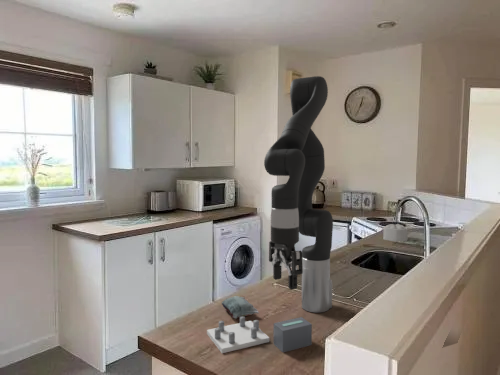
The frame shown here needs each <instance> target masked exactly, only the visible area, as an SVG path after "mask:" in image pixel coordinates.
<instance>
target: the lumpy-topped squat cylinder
mask: <svg viewBox="0 0 500 375" xmlns="http://www.w3.org/2000/svg"><path fill="white" fill-rule="evenodd" d="M408 231H409V229H408V228H407V227H405V226H404V225H402V224H399V223H397V224H393V223H390V224H387V225H386V226H383V237H382V239H383V240H384V241H390V242H398V241H404V242H408V236H409V235H408V234H409V232H408Z"/></svg>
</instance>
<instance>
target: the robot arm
mask: <svg viewBox="0 0 500 375" xmlns="http://www.w3.org/2000/svg"><path fill="white" fill-rule="evenodd" d="M289 88H290V89H289V98H290V106H291V114H292V116H290V118H289V119H288V120H287V121H286V122H285V125H284V127H283V130H282V133H281V134H280V137H279V138H278V139H277V140H276V141H275V142H274V143H273V144H272V145H271V147H270V148H268V150H267V152H266V154H265V157H264V163H263V164H264V165H263V166H264V169H265V170H266V172H267V173H268V174H269V175H270V176H275V177H276V176H278V177H279V176H281V177H282V176H283V177H288V179H287V181H286V183H282V184H277V185H274V186H273V187H272V188H271V210H270V241H269V242H268V261H269V263H271V266H272V268H273V269H272V270H273V272H272V274H273V275H272V276H273V279H274V280H275V281H276V280H281V279H282V264H283V265H284V268H286V271H287V272H288V279H287V280H288V284H287V286H288V289H289V290H296V289H297V288H298V275H301V308H302V309H303V311H307V312H309V313H310V312H311V313H324V312H327V311H329V309H332V308H333V280H332V279H331V277H330V276H331V251H332V244H333V231H334V230H333V229H334V221H333V220H334V219H333V215H332V212H330V211H329V210H327V209H320V208H319V209H318V208H317V209H316V208H313V195H314V192H315V189H316V188H317V186H318V184H319V182H320V181H321V179H322V176H323V175H324V172H325V168H326V167H325V164H326V163H325V160H326V159H325V148H324V146H323V144H322V142H321V141H320V139H319V138H318V136H317V135H316V133H315V132H314V130H313V129H312V127H313V125H314V123H315V121H316V120H317V118H318V116H319V115H320V114H321V111H322V110H323V108H324V107H325V105H326V102H327V100H328V96H329V94H328V93H329V91H328V90H329V89H328V83H327V80H326V79H325V78H324V77H323V76H320V75H317V76H309V77H299V78H293V79H292V80H291V82H290V87H289ZM300 234H301V235H302V236H305V237H312V238H315V242H314V244H312V245H307V246H304V247H303V248H302V249H301V250H296V247H295V246H296V244H298V242H300Z"/></svg>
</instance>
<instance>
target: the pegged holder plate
mask: <svg viewBox="0 0 500 375" xmlns="http://www.w3.org/2000/svg"><path fill="white" fill-rule="evenodd" d="M206 335H207V336H208V338H210V340H211V342H212V343H213V344H214V345H215V346H216V347H217V350H219V352H220V353H221V354H225V353H228V352H232V351H237V350H241V349H245V348H249V347H253V346H258V345H262V344H265V343H270V336H268V335H267V334H266V333H265V332H264V331H263V330H262V329H261V328H260V320H258V319H255V320H253V321H252V320H248V321H247V320H246V316H244V317H243V316H242V317H240V318H239V323H232V324H228V325H225V320H219V321H218V327H214V328H209V329H206Z"/></svg>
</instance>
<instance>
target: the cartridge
mask: <svg viewBox="0 0 500 375" xmlns="http://www.w3.org/2000/svg"><path fill="white" fill-rule="evenodd" d="M312 325H313V324H312V323H311V322H310V321H308V320H307V319H305V318H304V317H302V316H300V317H296V318H292V319H287V320H282V321H278V322H277V321H276V322H273V345H274V346H276V348H277V349H278V350H279V351H280V352H282V353H286V352H291V351H293V350H298V349H302V348H306V347H309V346H312V345H313V344H312V343H313V342H312V340H313V337H312V334H313V332H312V331H313V330H312V329H313V328H312V327H313V326H312Z"/></svg>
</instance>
